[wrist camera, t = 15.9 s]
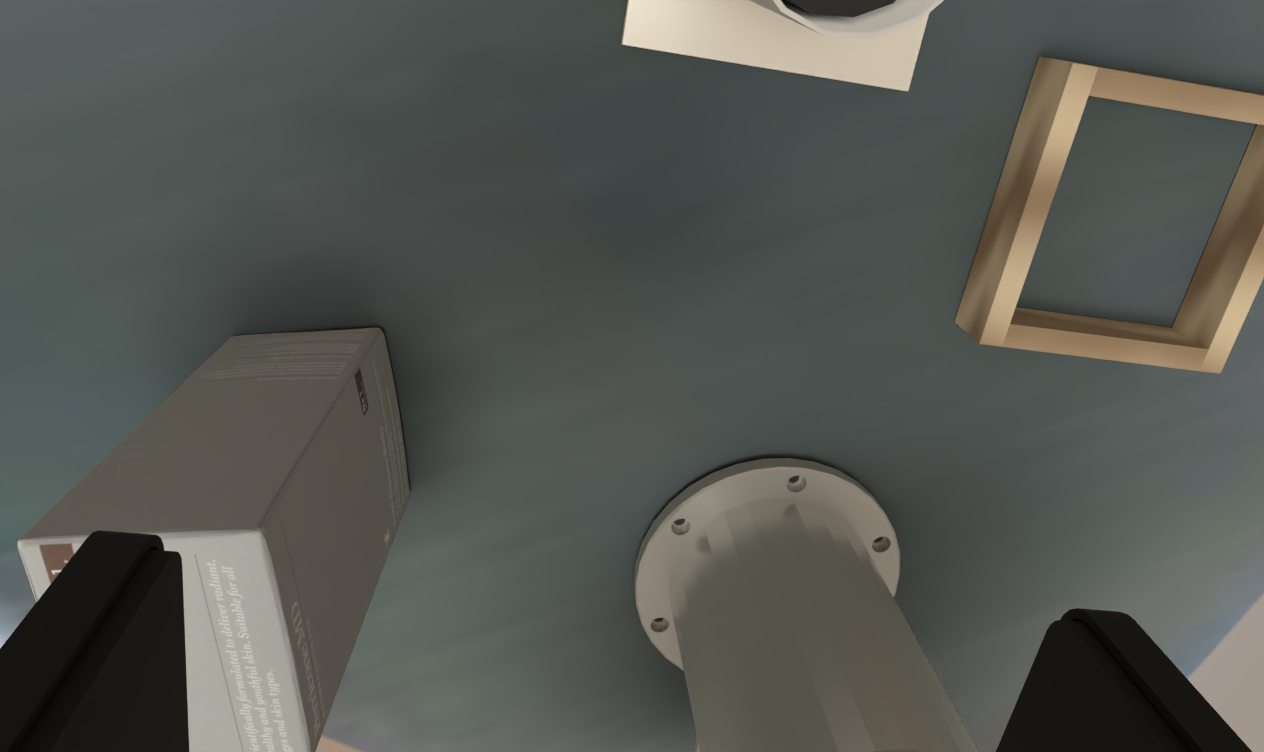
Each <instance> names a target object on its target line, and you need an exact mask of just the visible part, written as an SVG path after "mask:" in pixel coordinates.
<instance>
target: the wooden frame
mask: <svg viewBox="0 0 1264 752" xmlns="http://www.w3.org/2000/svg"><path fill="white" fill-rule="evenodd" d="M1088 96H1094V97H1100V98H1106V99H1112V100H1117V101H1123V102H1129V103H1135V104H1141V105H1147V106H1153V107H1159V108H1165V109H1171V110H1177V111H1183V112H1189V113H1195V114H1200V115H1206V116H1212V117H1218V118H1224V119H1230V120H1236V121H1242V122H1248V123H1254V124H1257V126H1256V128H1255V131H1254V133H1253V136H1252V138H1251V140H1250V143H1249V145H1248V147H1247V150H1246V152H1245V155H1244V157H1243V159H1242V162H1241V164H1240V167H1239V169H1238V171H1237V174H1236V176H1235V178H1234V181H1233V183H1232V186H1231V188H1230V190H1229V193H1228V195H1227V198H1226V200H1225V202H1224V205H1223V207H1222V209H1221V212H1220V214H1219V217H1218V219H1217V221H1216V224H1215V226H1214V229H1213V231H1212V233H1211V236H1210V238H1209V240H1208V243H1207V245H1206V248H1205V250H1204V252H1203V255H1202V257H1201V260H1200V262H1199V264H1198V267H1197V269H1196V271H1195V274H1194V276H1193V279H1192V281H1191V283H1190V286H1189V288H1188V290H1187V293H1186V295H1185V298H1184V300H1183V302H1182V305H1181V307H1180V310H1179V312H1178V314H1177V317H1176V319H1175V321H1174V324H1173V326H1172V328H1171V327H1163V326H1156V325H1148V324H1140V323H1133V322H1125V321H1117V320H1110V319H1102V318H1094V317H1087V316H1079V315H1071V314H1064V313H1056V312H1048V311H1041V310H1033V309H1025V308H1018V307H1016V305H1017V302H1018V299H1019V296H1020V293H1021V290H1022V287H1023V284H1024V282H1025V279H1026V276H1027V273H1028V270H1029V267H1030V264H1031V261H1032V258H1033V255H1034V253H1035V250H1036V247H1037V244H1038V241H1039V238H1040V235H1041V232H1042V229H1043V226H1044V224H1045V221H1046V218H1047V215H1048V212H1049V209H1050V206H1051V203H1052V200H1053V197H1054V195H1055V192H1056V189H1057V186H1058V183H1059V180H1060V177H1061V174H1062V171H1063V168H1064V166H1065V163H1066V160H1067V157H1068V154H1069V151H1070V148H1071V145H1072V142H1073V139H1074V137H1075V134H1076V131H1077V128H1078V125H1079V122H1080V119H1081V116H1082V113H1083V110H1084V108H1085V105H1086V102H1087V99H1088ZM1263 278H1264V95H1260V94H1254V93H1248V92H1243V91H1237V90H1231V89H1225V88H1220V87H1214V86H1208V85H1202V84H1197V83H1191V82H1185V81H1179V80H1174V79H1168V78H1162V77H1156V76H1151V75H1145V74H1139V73H1133V72H1128V71H1122V70H1116V69H1111V68H1105V67H1099V66H1093V65H1088V64H1082V63H1076V62H1070V61H1065V60H1059V59H1053V58H1047V57H1042V56H1039V58H1038V61H1037V65H1036V68H1035V71H1034V74H1033V77H1032V80H1031V83H1030V87H1029V90H1028V93H1027V96H1026V99H1025V102H1024V105H1023V108H1022V112H1021V115H1020V118H1019V121H1018V124H1017V127H1016V130H1015V134H1014V137H1013V140H1012V143H1011V146H1010V149H1009V152H1008V156H1007V159H1006V162H1005V165H1004V168H1003V171H1002V174H1001V177H1000V181H999V184H998V187H997V190H996V193H995V196H994V199H993V203H992V206H991V209H990V212H989V215H988V218H987V221H986V224H985V228H984V231H983V234H982V237H981V240H980V243H979V246H978V250H977V253H976V256H975V259H974V262H973V265H972V268H971V271H970V275H969V278H968V281H967V284H966V287H965V290H964V293H963V297H962V300H961V303H960V306H959V309H958V312H957V315H956V318H955V323H956V324H957V325H958V326H960V327H961V328H962V329H963V330H964V331H965V332H966V333H967V334H969V335H970V336H971V337H972V338H973V339H974V340H975V341H977V342H978V343H979V344H984V345H992V346H1000V347H1008V348H1016V349H1024V350H1033V351H1041V352H1049V353H1057V354H1065V355H1073V356H1081V357H1089V358H1097V359H1106V360H1114V361H1122V362H1130V363H1138V364H1146V365H1154V366H1162V367H1170V368H1178V369H1187V370H1195V371H1203V372H1211V373H1219V374H1220V373H1221V371H1222V369H1223V367H1224V365H1225V362H1226V360H1227V358H1228V356H1229V353H1230V351H1231V349H1232V347H1233V345H1234V342H1235V340H1236V338H1237V336H1238V333H1239V331H1240V329H1241V327H1242V325H1243V322H1244V320H1245V318H1246V316H1247V314H1248V311H1249V309H1250V307H1251V305H1252V302H1253V300H1254V298H1255V296H1256V294H1257V291H1258V289H1259V287H1260V285H1261V283H1262V280H1263Z"/></svg>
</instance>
